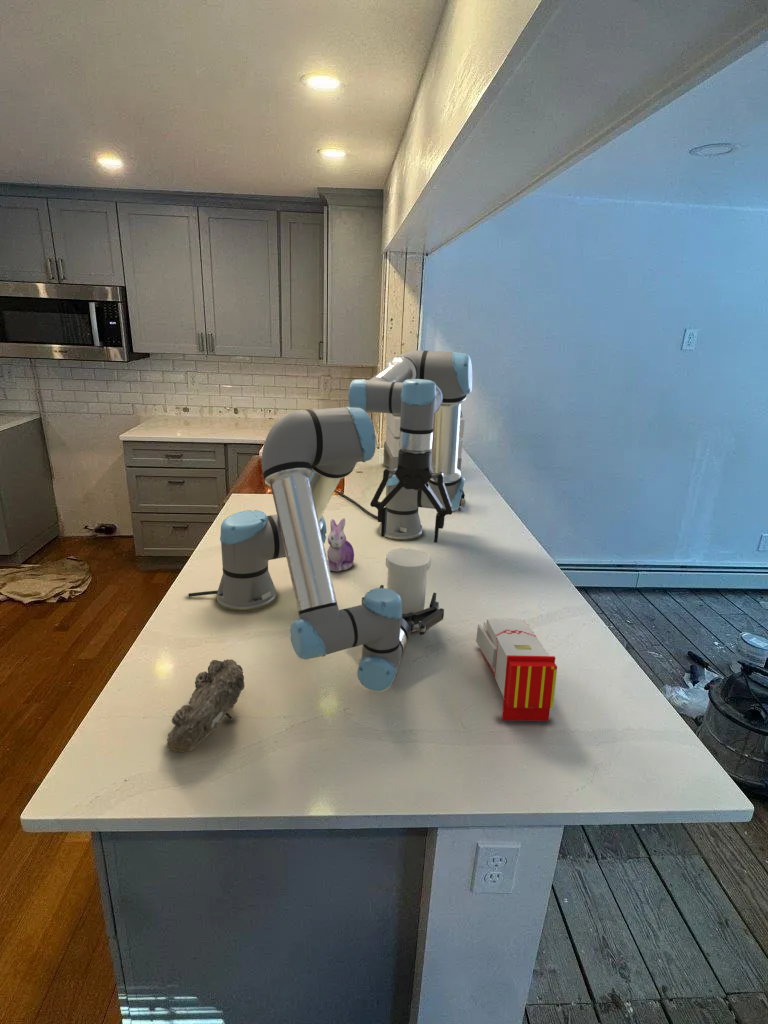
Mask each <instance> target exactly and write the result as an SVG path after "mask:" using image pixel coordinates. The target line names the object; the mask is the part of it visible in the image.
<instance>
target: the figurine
mask: <svg viewBox="0 0 768 1024" xmlns="http://www.w3.org/2000/svg"><path fill="white" fill-rule="evenodd" d="M329 524H330V525H329V526H330V532H329V534H328V536H327V543H328V545H329V547H328V548H327V552H326V557H327V561H328V565H329V570H330V572H331V571H332V572H341V571H346V570H348V569H350V568H352V567H353V566H354V560H355V551H354V548H353V545H352V544H351V542H349V541H348V540H347V535H346V534H345V532H344V529H345V527H346V518H345V517H344V518H341V519H340V521H339V522H338V524H337V523H336V520H335V519H333V518H332V519H330V523H329Z"/></svg>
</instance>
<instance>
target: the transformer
mask: <svg viewBox="0 0 768 1024" xmlns="http://www.w3.org/2000/svg"><path fill="white" fill-rule="evenodd" d="M385 414H386V415H385V423H386V428H385V438H384V442H383V466H384V467H389V468H390V469H396V468H397V467H398V452H399V450H400V449H401V448H400V447H399V432H400V418H401V414H391V413H385ZM464 429H465V419H464V418H463V411H462V409H461V410H460V426H459V442H458V458H457V469H459V470H460V472H462V461H463V460H462V453H463V442H464V441H463V440H462V439H463V438H464V431H465V430H464ZM430 451H432V449H431V450H430Z"/></svg>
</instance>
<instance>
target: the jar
mask: <svg viewBox="0 0 768 1024" xmlns="http://www.w3.org/2000/svg"><path fill="white" fill-rule="evenodd" d="M427 581H428V571H427V572H425V573H422V574H418V575H403V574H398V573H395V572H393V571H391V570H389V569H388V568H387V581H386V589H390V590H393V591H395V592H396V593H397V594H399V596H400V597H401V601H402V613H403V614H408V613H410V612H413V613H416V612H418V611H421V610H424V609H426V608H425V606H426V595H427V593H426V592H427ZM413 632H417V631H416V630H413V631H412V632H411V633H413Z"/></svg>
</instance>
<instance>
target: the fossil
mask: <svg viewBox="0 0 768 1024" xmlns="http://www.w3.org/2000/svg"><path fill="white" fill-rule="evenodd" d="M243 670H244V669H243V667H242V665H240V664H237V662H236V661H235V660H234V659H232V658H231V659H227V658H226V659H224V660H223V661H222V660H217V659H212V660H211V661H210V663H209V665H208V666H207V671H201V672H199V673H198V674H197V675H196V676H195V680H194V684H195V685H194V687H195V689H194V690H193V693H192V694H191V697H190V698H189V700H188V704H184V705H182V706H181V707H180V709H177V710H176V711H175V713H174V715H173V716H172V718H171V723H172V724H173V727H172V730H171V731H170V732H168V734H167V738H166V741H167V742H166V745H167V749H168V750H169V751H173V752H174V753H176V754H178V753H182V752H188V751H189V752H192V751H193V750H195V748H196V747H197V746H199V744H200V743H201V742H203V741H204V740H205V739H206V738H207V737H208V736H209V735H210V734H211V733H212V732H214V730H215V729H217V727H218V726H219V724H220V722H221V721H222V720H223V719H224V718H225V716H226V717H227V719H229V720H233V717H232V715H230V714H229V710H230V709H231V708H234V706H235V704H236V703H237V702H238V699H239V697H240V695H241V693H242V691H243V690H245V689H244V688H245V675H244V671H243Z"/></svg>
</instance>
